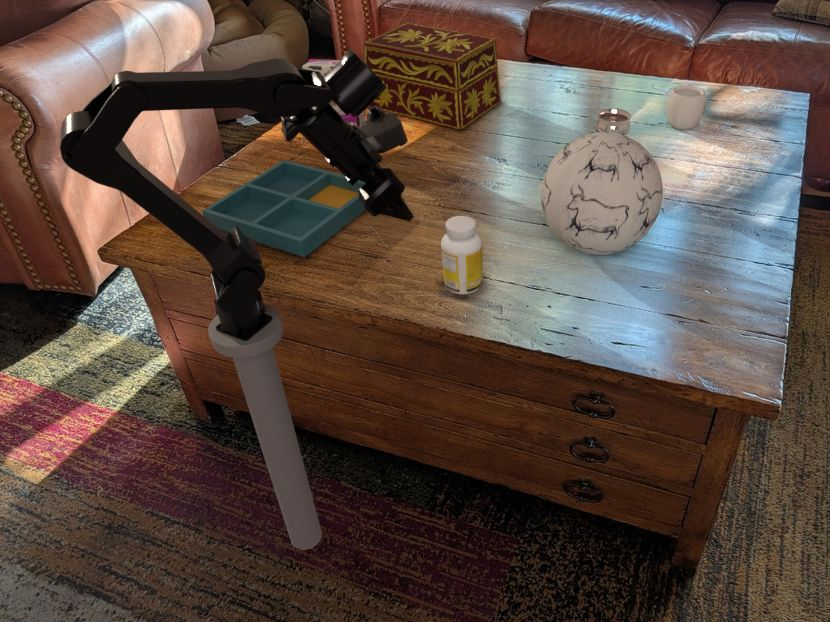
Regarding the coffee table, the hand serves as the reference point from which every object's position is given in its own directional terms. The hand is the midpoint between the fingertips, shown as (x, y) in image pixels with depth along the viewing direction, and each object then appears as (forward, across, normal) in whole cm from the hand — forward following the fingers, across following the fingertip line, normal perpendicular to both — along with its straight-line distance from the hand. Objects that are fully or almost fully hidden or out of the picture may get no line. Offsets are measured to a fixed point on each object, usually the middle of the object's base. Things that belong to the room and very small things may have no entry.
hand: (402, 205), depth 113 cm
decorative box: (+27, +66, -16) cm, 73 cm away
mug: (+56, +32, -56) cm, 85 cm away
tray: (+3, +28, +18) cm, 34 cm away
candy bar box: (+13, +57, +5) cm, 59 cm away
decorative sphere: (+30, -5, -19) cm, 36 cm away
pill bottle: (+15, -6, +2) cm, 16 cm away
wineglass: (+39, +18, -32) cm, 54 cm away
